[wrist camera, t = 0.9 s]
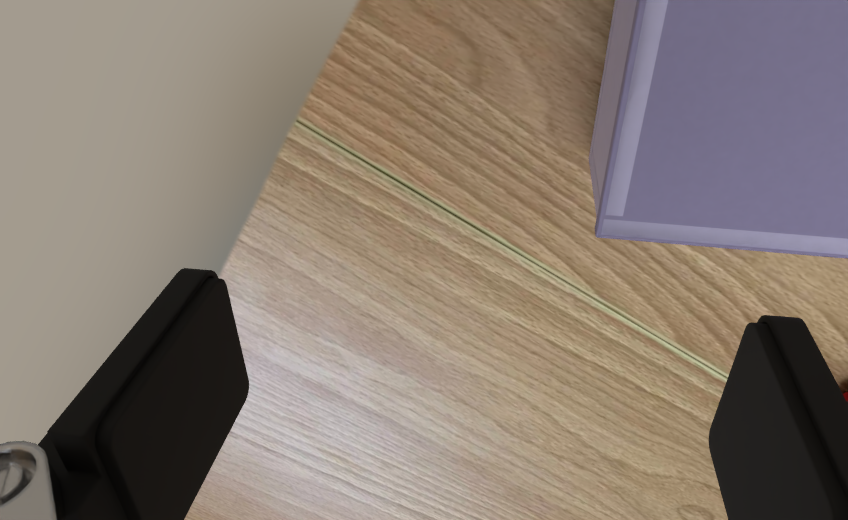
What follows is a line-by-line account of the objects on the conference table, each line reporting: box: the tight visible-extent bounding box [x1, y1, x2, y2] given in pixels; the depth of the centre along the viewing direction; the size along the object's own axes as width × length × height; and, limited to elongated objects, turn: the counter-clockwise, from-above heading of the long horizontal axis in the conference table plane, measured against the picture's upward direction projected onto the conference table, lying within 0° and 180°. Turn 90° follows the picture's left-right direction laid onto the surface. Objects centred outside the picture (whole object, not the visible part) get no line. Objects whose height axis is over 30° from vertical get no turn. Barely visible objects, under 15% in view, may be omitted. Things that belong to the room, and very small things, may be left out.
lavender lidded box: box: [589, 0, 848, 258], centre depth 22 cm, size 14×11×7 cm
